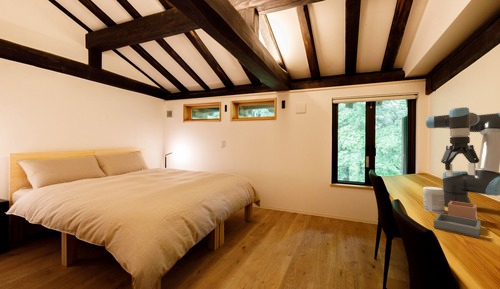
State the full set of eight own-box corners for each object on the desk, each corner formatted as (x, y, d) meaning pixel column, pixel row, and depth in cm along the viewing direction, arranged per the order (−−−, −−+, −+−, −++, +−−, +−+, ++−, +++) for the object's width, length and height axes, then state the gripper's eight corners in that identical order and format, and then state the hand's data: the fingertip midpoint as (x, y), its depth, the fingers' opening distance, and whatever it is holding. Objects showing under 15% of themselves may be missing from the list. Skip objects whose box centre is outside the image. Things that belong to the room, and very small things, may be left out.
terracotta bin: (450, 216, 116) (450, 200, 116) (477, 221, 108) (476, 204, 108) (448, 220, 110) (448, 204, 110) (475, 226, 102) (475, 208, 102)
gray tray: (439, 220, 110) (439, 213, 110) (480, 228, 99) (480, 220, 99) (433, 228, 101) (433, 220, 101) (479, 238, 89) (479, 229, 89)
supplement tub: (446, 212, 122) (446, 188, 122) (442, 215, 117) (441, 190, 117) (426, 208, 130) (425, 185, 131) (421, 211, 125) (420, 187, 125)
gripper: (471, 136, 114) (472, 173, 114) (431, 137, 112) (432, 175, 112) (488, 135, 107) (489, 175, 107) (446, 136, 104) (447, 177, 104)
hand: (460, 175), depth 109 cm, fingers open, 13 cm apart
